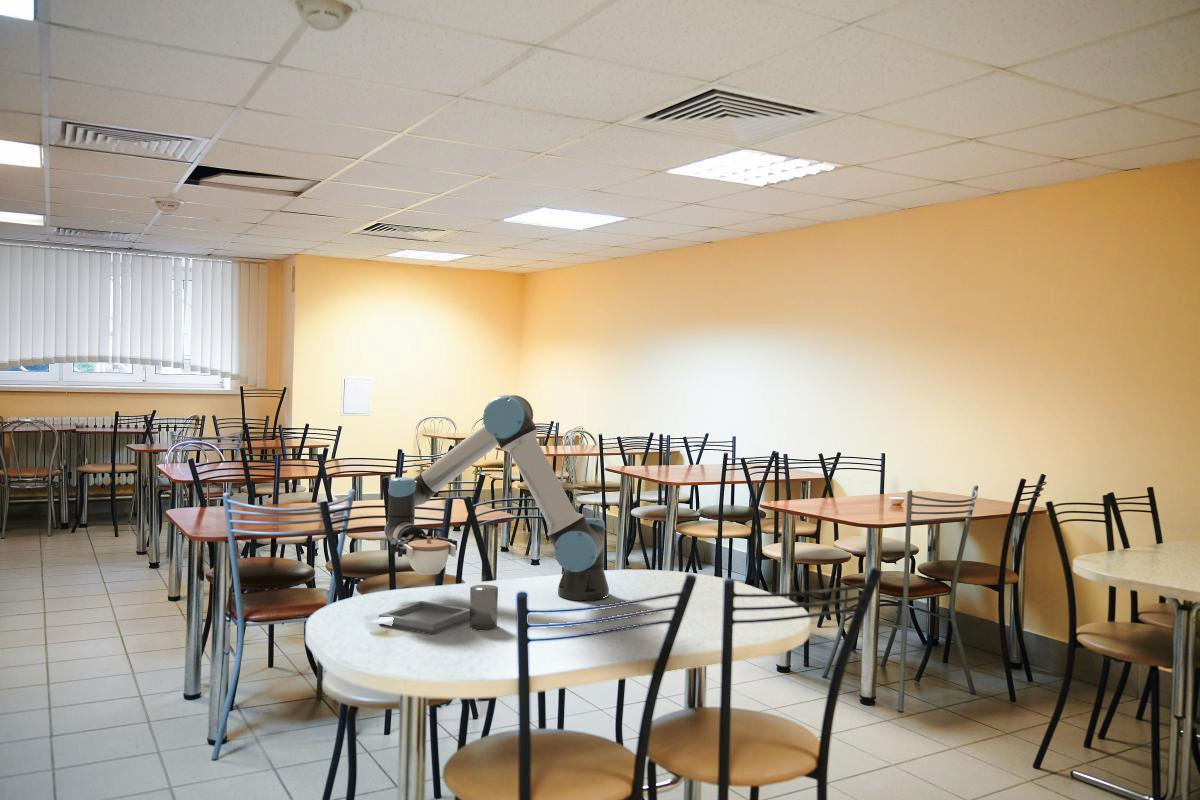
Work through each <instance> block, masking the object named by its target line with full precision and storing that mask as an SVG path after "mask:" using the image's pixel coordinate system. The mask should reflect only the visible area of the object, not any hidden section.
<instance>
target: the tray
mask: <svg viewBox="0 0 1200 800" xmlns="http://www.w3.org/2000/svg"><path fill="white" fill-rule="evenodd" d="M379 617H393V618H394V620H393V624H392V627H391V628H395V627H396V629H400V628H403V629H402V630H406V629H407V631H411V630H414V631H413V632H416V631H419V632H418V633H421V632H424V633H423V634H427V633H430V634H429V635H432V634H433V635H435V634H437V633H436V632H438V633H440V632H442V630H443V631H445V630H447V629H446V628H448V629H450V628H449V627H451V628H453V627H456V626H458V625H460V623H461V624H463V623H465V621H466V622H468V621H470V608H466V607H459V606H453V605H449V604H448V605H447V604H443V603H436V602H431V601H424V600H423V601H422V600H419V601H416V602H413V603H410V604H408V605H404V606H401V607H398V608H395V609H392V610H389V611H386V612H382V613H380V614H378V618H379ZM467 620H468V621H467ZM457 624H458V625H457ZM455 625H456V626H455ZM452 626H453V627H452ZM444 629H445V630H444ZM439 631H440V632H439ZM434 633H435V634H434Z"/></svg>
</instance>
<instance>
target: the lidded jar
mask: <svg viewBox="0 0 1200 800" xmlns="http://www.w3.org/2000/svg"><path fill="white" fill-rule="evenodd" d="M431 537H432V536H430V537H427V540H416V541H411V542H409V543H408V546H410V547H411V548H413V559H409V558H408V562H409V565H410V567H411V568H412V569H413V571H415V574H417V575H420V576H421V575H422V576H435V575H439V574H440V573H441V571H442V570H443V569H444V568H445V567H446V565H447V562H448V560H449V556H450V555H449V542H446V541H442V540H431Z"/></svg>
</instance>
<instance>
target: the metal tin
mask: <svg viewBox="0 0 1200 800" xmlns="http://www.w3.org/2000/svg"><path fill="white" fill-rule="evenodd" d="M469 592H470V593H469V609H470V620H469V624H468V625H469V629H471V628H472V629H471V630H473V629H476V630H475V631H479V630H486V631H492V630H491V629H493V630H495V629H497V628H496V627H498V602H499V601H498V599H499V597H498V595H499V587H498V586H496V585H492V584H476V585H473V586H470V590H469ZM494 628H495V629H494Z"/></svg>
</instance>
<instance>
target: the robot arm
mask: <svg viewBox="0 0 1200 800" xmlns="http://www.w3.org/2000/svg"><path fill="white" fill-rule="evenodd" d="M482 423H483V424H482V425H481V426H480V427H479V428H477V429H476V430H475V431H473V432H471V434H470V435H468V436H467V437H465V439H463V440H462V441H460V442H459V443H458V444H457V445H455V446H453V448H452V449H450V450H448V452H447V453H445V454H444V455H443V456H442V457H440V458H439V459H438V460H436V461H435V462H434V463H432V464H431V465H430V466H428V467H427V468H425V470H424V471H422V472H421V473H420V474H418V475H417V476H416V477H414V478H413V477H401V476H400V477H393V478H391V479H390V480H389V485H388V489H387V491H388V492H387V493H388V506H387V507H388V512H387V513H388V515H387V522H386V523H385V525H384V528H383V532H384V536H385V537H386V538H387V540H388V541H389V542H390V551H389V552H390V553H389V554H390V555H395V554H396V553H397V557H398V558H402V557H403V556H405V558H407V559H408V560H409V559H413V548H411V547H410V546H408V543H409V542H411V541H416V540H427V537H431V540H442V541H446V542H449V555H448V556H450V557H456V555H457V550H458V540H455V539H452V538H447V537H442V536H440V535H436V536H435V537H433V536H431V535H429V536H428V535H427V534H426V532H425V531H424V529H422V528H421V527H419V526H418V525H416V524H415V514H416V513H415V512H416V507H418V506H420V505H424V504H425V503H427V502H428V501H429V500H430V499H431V498H432V497H433V496H434V495H436V494H437V493H438V492H439V491H440V490H442V489H443V488H444V487H445V486H447V485H448V484H450V483H451V482H452V481H453V480H455V479H456V478H457V477H458V476H460V475H462V474H463V473H464V472H466V470H467V469H469V468H470V467H471V466H473V465H474V464H475V463H477V462H478V461H479V460H480V459H481V458H483V457H484V456H486V455H487V454H488V453H490V452H491V451H492V450H494V449H495V448H496V447H497V446H499V447H500V449H501V451H504V452H508V453H509V455H510V457H511V459H512V460H513V462H514V464H515V466H516V467H517V469H518V471H519V473H520V475H521V478H522V479H523V481H524V483H525V485H526V486H527V488H528V490H529V492H530V494H531V496H532V497H533V500H534V501H535V503H536V505H537V507H538V509H539V510H540V513H541V514H542V517H544V520H545V522H546V523H547V526H548V530H547V536H548V539H549V540H550V542H551V545H552V547H554V548H553V552H554V557H555V560H556V562H557V563H558V565H559V566H560V567H562V568H563V569H564V570H563V573H562V575H561V578H560V580H559V584H558V587H557V595H558V596H559V597H561V598H563V599H567V600H570V601H572V600H573V601H581V600H591V601H597V600H596V599H600V598H603V597H605V596H607V595H608V594H609V593H610V588H609V584H608V581H607V578H606V573H605V570H604V569H605V568H604V566H605V565H604V562H605V531H606V527H605V526H606V524H605V520H603V519H602V518H595V517H594V518H593V517H592V518H591V517H585V515H584V514H582V513H579V512H576V510H575V507H574V506H573V504H572V503H571V501H570V498H569V497H568V495H567V492H565V489H564V487H563V486H562V483H561V482H560V480H559V478H558V476H557V475H556V473H555V471H554V469H553V467H552V466H551V464H550V461H549V459H548V458H547V456H546V454H545V453H544V450H543V449H542V446H541V445H540V443H539V442H538V439H537V434H538V428H537V427H536V424H535V422H534V410H533V407H532V405H531V403H530V402H529V401H528V400H527V399H525V398H524V397H522V396H520V395H515V394H514V395H509V394H507V395H506V394H503V395H499V396H496V397H495V398H493V399H492V400H490V401H489V402H488V403H487V405H486V406H485V408H484V410H483V414H482ZM600 600H601V599H600Z"/></svg>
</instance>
